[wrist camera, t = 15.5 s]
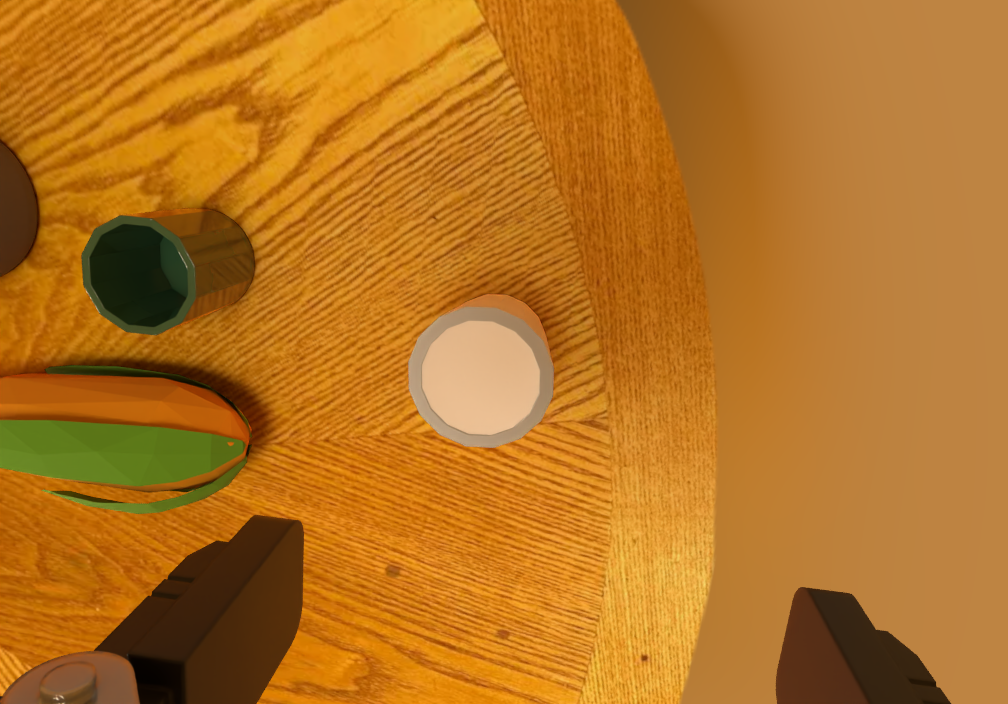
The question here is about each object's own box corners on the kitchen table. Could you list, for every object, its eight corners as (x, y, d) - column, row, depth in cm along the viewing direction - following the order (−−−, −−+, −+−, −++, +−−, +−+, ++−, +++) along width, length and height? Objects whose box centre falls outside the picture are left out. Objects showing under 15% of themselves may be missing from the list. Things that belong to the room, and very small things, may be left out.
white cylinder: (423, 292, 39) (392, 319, 33) (547, 272, 38) (541, 295, 32) (448, 410, 41) (423, 458, 34) (566, 392, 40) (565, 438, 33)
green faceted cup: (254, 213, 39) (193, 222, 33) (255, 313, 41) (196, 340, 34) (156, 203, 40) (78, 210, 33) (160, 302, 41) (85, 327, 35)
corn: (213, 547, 36) (-158, 508, 37) (274, 490, 43) (-37, 459, 45) (212, 404, 34) (-174, 368, 36) (275, 371, 42) (-46, 342, 43)
